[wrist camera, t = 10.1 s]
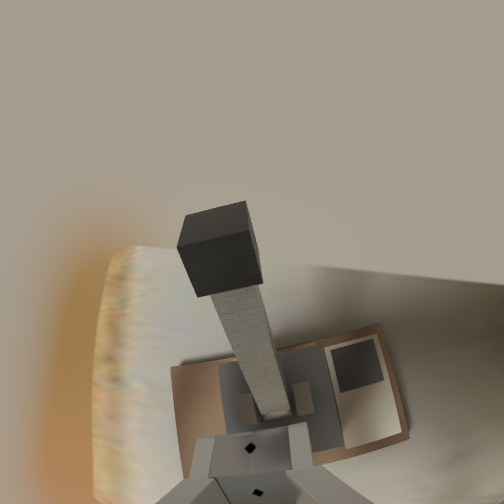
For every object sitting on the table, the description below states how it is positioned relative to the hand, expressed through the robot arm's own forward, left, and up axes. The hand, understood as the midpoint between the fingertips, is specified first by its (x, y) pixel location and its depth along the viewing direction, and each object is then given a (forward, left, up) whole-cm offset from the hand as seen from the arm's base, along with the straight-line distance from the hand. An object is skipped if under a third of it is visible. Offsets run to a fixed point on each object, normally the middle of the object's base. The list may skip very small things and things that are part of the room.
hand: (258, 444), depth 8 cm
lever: (0, -2, -7) cm, 7 cm away
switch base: (0, -2, -14) cm, 15 cm away
